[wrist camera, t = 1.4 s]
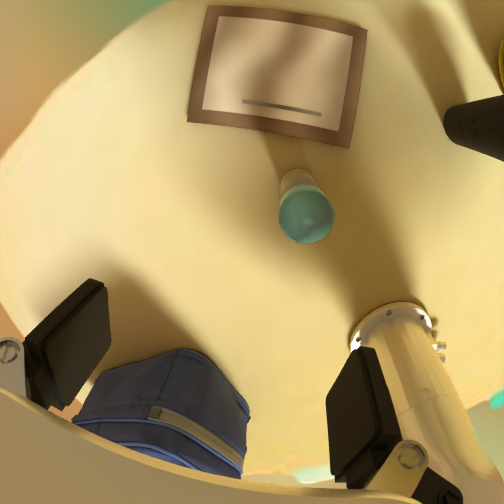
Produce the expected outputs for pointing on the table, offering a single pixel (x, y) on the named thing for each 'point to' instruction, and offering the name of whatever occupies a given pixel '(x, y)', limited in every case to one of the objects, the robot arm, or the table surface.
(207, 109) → the board
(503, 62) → the flowerpot
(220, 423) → the lunch bag
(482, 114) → the drinking cup
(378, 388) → the robot arm
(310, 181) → the translucent bottle
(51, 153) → the table surface
